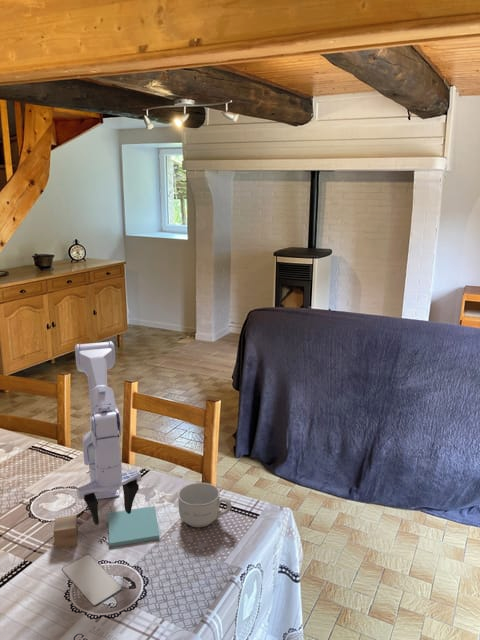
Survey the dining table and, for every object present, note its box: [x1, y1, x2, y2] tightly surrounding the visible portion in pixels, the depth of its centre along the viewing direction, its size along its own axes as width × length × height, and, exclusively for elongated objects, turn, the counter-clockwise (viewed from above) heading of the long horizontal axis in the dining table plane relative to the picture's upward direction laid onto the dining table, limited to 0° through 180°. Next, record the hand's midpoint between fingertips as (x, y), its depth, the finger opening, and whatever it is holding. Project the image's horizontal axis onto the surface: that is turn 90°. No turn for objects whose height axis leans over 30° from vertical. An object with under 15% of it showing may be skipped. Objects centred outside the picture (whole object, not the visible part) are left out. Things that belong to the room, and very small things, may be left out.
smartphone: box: [61, 553, 123, 607], centre depth 113 cm, size 7×1×15 cm
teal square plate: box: [108, 505, 161, 548], centre depth 130 cm, size 12×12×1 cm
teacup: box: [177, 482, 232, 528], centre depth 131 cm, size 14×11×8 cm
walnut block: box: [53, 514, 79, 550], centre depth 124 cm, size 5×5×5 cm
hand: (112, 517), depth 119 cm, fingers open, 7 cm apart
